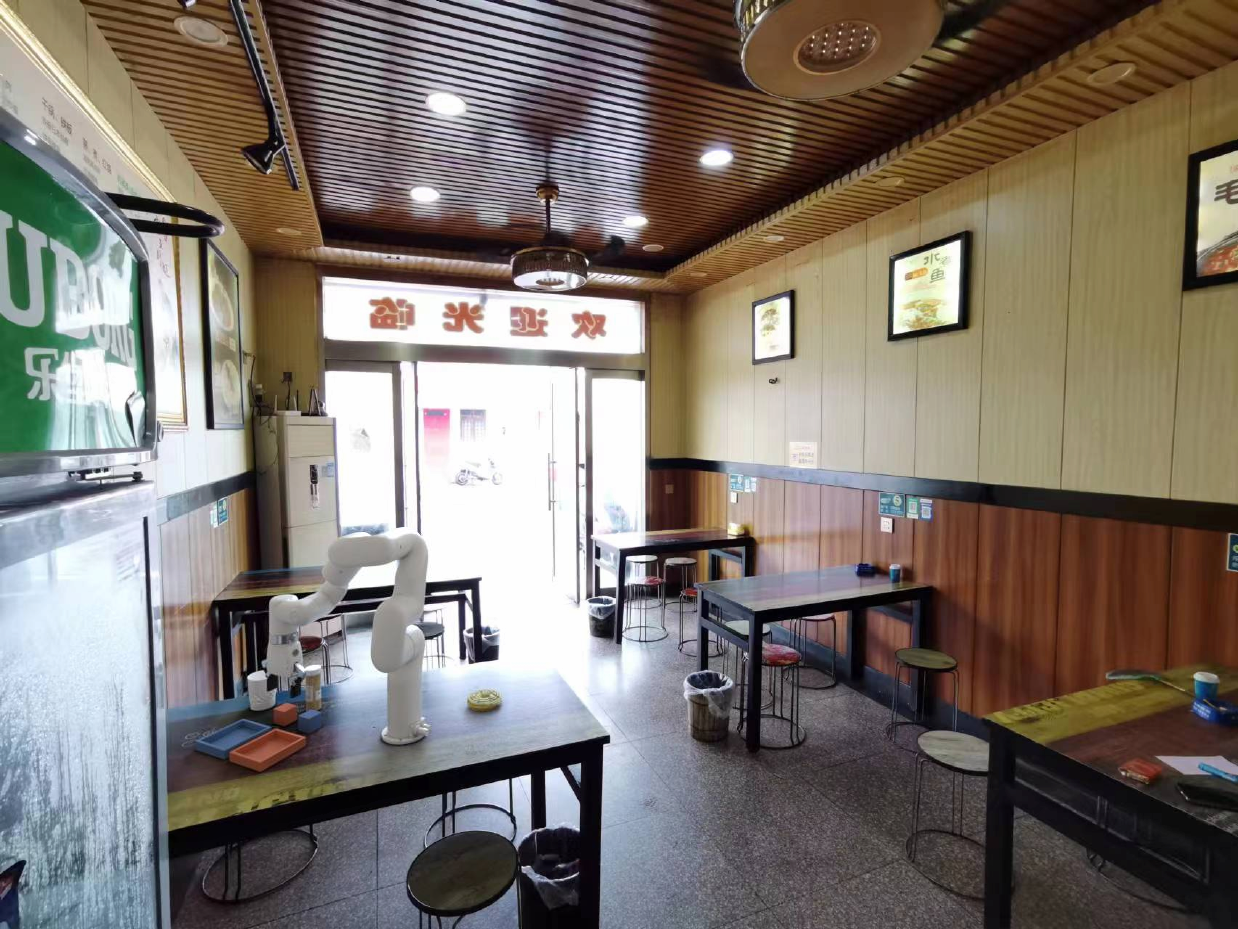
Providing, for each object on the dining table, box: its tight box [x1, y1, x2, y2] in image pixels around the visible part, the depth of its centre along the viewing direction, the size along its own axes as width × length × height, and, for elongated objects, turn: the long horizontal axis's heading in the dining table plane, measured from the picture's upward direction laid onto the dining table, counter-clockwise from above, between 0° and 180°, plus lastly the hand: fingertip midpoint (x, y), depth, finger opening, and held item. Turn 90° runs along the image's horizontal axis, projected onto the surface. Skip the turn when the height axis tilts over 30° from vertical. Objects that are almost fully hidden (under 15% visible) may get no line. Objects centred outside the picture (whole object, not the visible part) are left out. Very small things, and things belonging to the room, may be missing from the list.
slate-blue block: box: [297, 710, 323, 734], centre depth 174 cm, size 4×4×4 cm
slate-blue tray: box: [194, 718, 272, 760], centre depth 166 cm, size 12×14×2 cm
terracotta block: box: [273, 702, 298, 727], centre depth 178 cm, size 4×4×4 cm
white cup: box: [246, 670, 277, 712], centre depth 187 cm, size 8×8×10 cm
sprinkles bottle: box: [304, 664, 323, 712], centre depth 186 cm, size 5×5×13 cm
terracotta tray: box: [228, 728, 307, 773], centre depth 161 cm, size 12×14×2 cm
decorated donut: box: [466, 689, 503, 712], centre depth 191 cm, size 10×11×4 cm
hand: (283, 693), depth 178 cm, fingers open, 9 cm apart
